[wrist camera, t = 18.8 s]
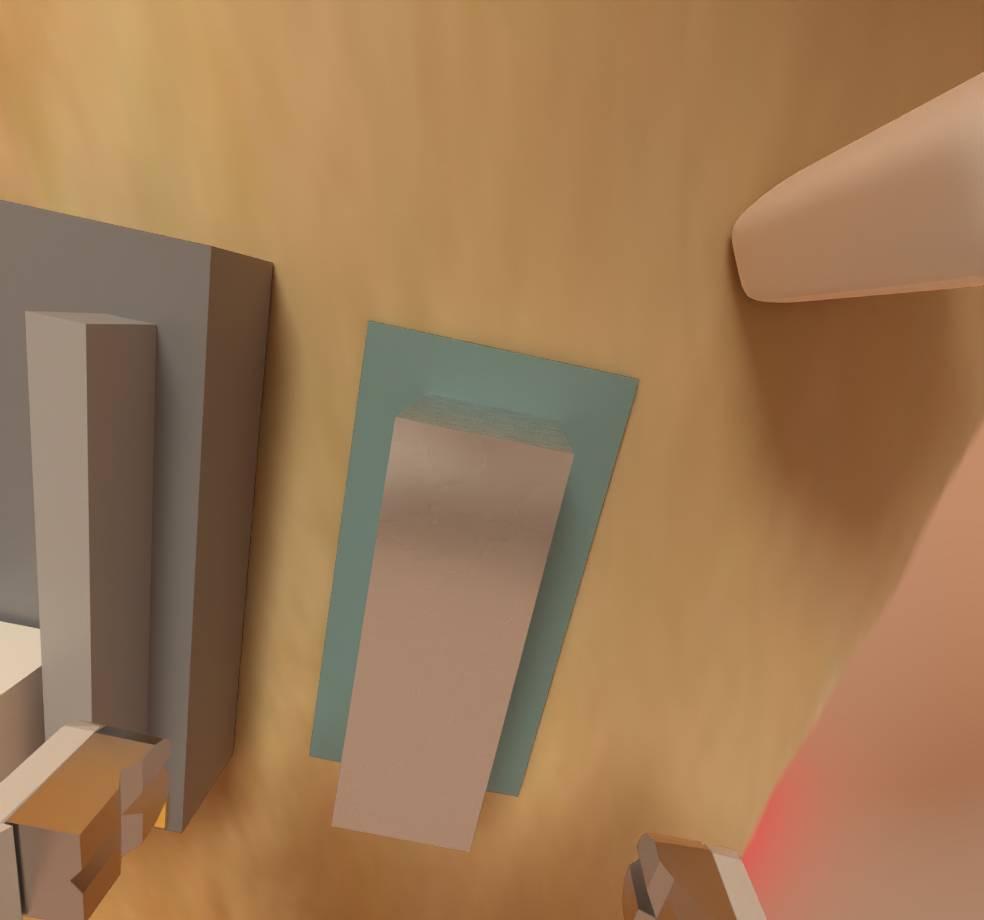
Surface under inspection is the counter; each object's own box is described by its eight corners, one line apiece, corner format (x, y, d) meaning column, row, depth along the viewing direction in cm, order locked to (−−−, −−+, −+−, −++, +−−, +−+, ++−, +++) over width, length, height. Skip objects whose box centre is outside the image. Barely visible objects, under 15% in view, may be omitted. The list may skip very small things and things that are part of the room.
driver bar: (425, 392, 14) (395, 416, 11) (556, 420, 15) (574, 454, 11) (370, 716, 18) (331, 826, 14) (478, 737, 18) (469, 852, 14)
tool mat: (371, 321, 14) (368, 320, 14) (636, 378, 14) (639, 379, 14) (312, 749, 18) (309, 755, 18) (517, 789, 19) (517, 796, 18)
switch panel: (-79, 185, 14) (-398, 108, 9) (273, 262, 14) (148, 228, 9) (-29, 703, 18) (-219, 836, 14) (232, 754, 19) (136, 903, 14)
